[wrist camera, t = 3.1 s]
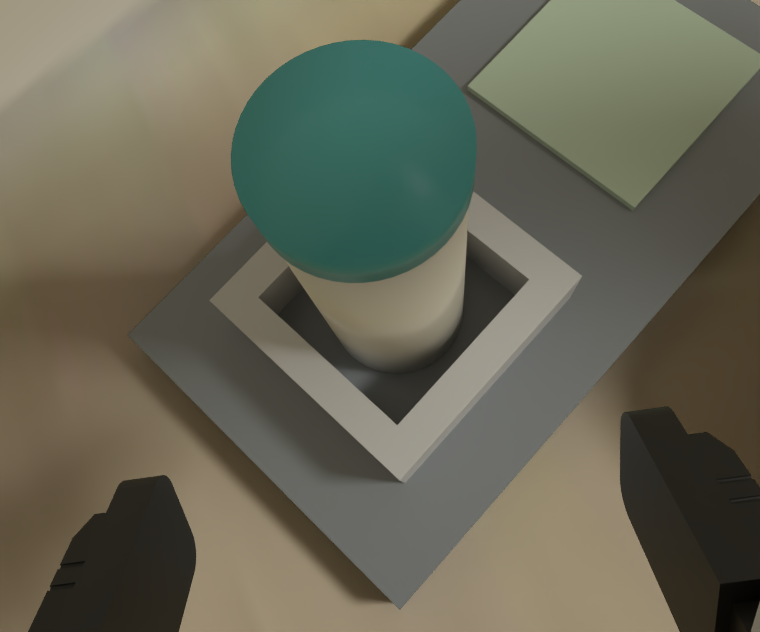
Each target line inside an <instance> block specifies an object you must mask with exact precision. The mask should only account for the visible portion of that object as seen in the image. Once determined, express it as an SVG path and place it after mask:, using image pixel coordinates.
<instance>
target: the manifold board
mask: <svg viewBox="0 0 760 632" xmlns="http://www.w3.org/2000/svg"><path fill="white" fill-rule="evenodd" d="M411 50H413V51H415V52H417V53H419V54H421V55H423V56H425V57H426V58H428V59H429V60H431V61H433V62H434V63H435V64H437V65H438V66H439V67H440V68H441V69H443V70H444V71H445V72H446V73H447V74H448V75H449V76H450V77H451V78H452V80H453V81H454V82H455V83H456V84H457V86H458V87H459V89H460V90H461V92H462V93H463V95H464V97H465V99H466V101H467V103H468V105H469V107H470V110H471V113H472V116H473V119H474V123H475V129H476V136H477V155H476V169H475V181H474V189H473V194H472V198H471V201H470V205H469V209H468V228H467V247H466V265H465V284H464V303H463V316H462V323H461V326H460V330H459V332H458V334H457V337H456V339H455V340H454V342H453V344H452V345H451V346H450V348H449V349H448V350H447V351H446V352H445V353H444V354H443V355H442V356H441V357H440V358H439V359H438V360H436V361H435V362H434V363H432V364H430V365H428V366H426V367H424V368H422V369H419V370H416V371H412V372H408V373H385V372H380V371H377V370H374V369H371V368H369V367H366V366H365V365H363V364H361V363H360V362H358V361H357V360H356V359H355V358H353V357H352V356H351V355H350V354H349V353H348V352H347V351H346V349H345V348H344V346H343V345H342V344H341V342H340V341H339V339H338V338H337V336H336V335H335V333H334V332H333V330H332V329H331V328H330V326H329V325H328V323H327V322H326V320H325V319H324V317H323V316H322V314H321V313H320V311H319V310H318V308H317V307H316V305H315V304H314V302H313V301H312V300H311V298H310V297H309V295H308V294H307V292H306V291H305V289H304V288H303V286H302V285H301V283H300V282H299V280H298V279H297V277H296V276H295V275H294V273H293V272H292V270H291V269H290V267H289V266H288V264H287V263H286V261H285V260H284V259H283V258H282V257H281V256H279V255H278V253H277V252H276V251H275V250H274V249H273V248H272V247H271V246H270V245H269V244H268V242H267V241H266V240H265V238H264V237H263V236H262V234H261V233H260V231H259V230H258V228H257V227H256V226H255V224H254V223H253V221H252V220H251V218H250V217H249V216H248V214H247V215H246V216H245V217H244V218H243V219H242V220H241V221H240V222H239V223H238V224H237V225H236V226H235V227H234V228H233V229H232V230H231V231H230V232H229V233H228V234H227V235H226V236H225V237H224V238H223V239H222V240H221V241H220V242H219V243H218V244H217V245H216V246H215V247H214V248H213V249H212V250H211V251H210V252H209V253H208V254H207V255H206V256H205V257H204V258H203V259H202V260H201V261H200V262H199V263H198V264H197V265H196V266H195V267H194V268H193V269H192V270H191V272H190V273H189V274H188V275H187V276H186V277H185V278H184V279H183V280H182V281H181V282H180V283H179V284H178V285H177V286H176V287H175V288H174V289H173V290H172V291H171V292H170V293H169V294H168V295H167V296H166V297H165V298H164V299H163V300H162V301H161V302H160V303H159V304H158V305H157V306H156V307H155V308H154V309H153V310H152V311H151V312H150V313H149V314H148V315H147V316H146V317H145V318H144V319H143V320H142V321H141V322H140V323H139V324H138V325H137V326H136V327H135V328H134V329H133V330H132V331H131V332H130V333H129V334H128V336H129V337H130V338H131V339H132V340H133V341H134V342H135V343H136V344H137V345H138V346H139V347H140V348H141V349H142V350H143V351H144V352H145V353H146V354H147V355H148V356H149V357H150V358H151V359H152V360H153V361H154V362H155V363H156V364H157V365H158V366H159V367H160V368H161V369H162V370H163V371H164V372H165V373H166V374H167V375H168V376H169V377H170V378H171V379H172V380H173V381H174V382H175V383H176V385H177V386H178V387H179V388H180V389H181V390H182V391H183V392H184V393H185V394H186V395H187V396H188V397H189V398H190V399H191V400H192V401H193V402H194V403H195V404H196V405H197V406H198V407H199V408H200V409H201V410H202V411H203V412H204V413H205V414H206V415H207V416H208V417H209V418H210V419H211V420H212V421H213V422H214V423H215V424H216V425H217V426H218V427H219V428H220V429H221V430H222V431H223V432H224V433H225V434H226V435H227V436H228V437H229V438H230V439H231V440H232V441H233V442H234V443H235V444H236V445H237V446H238V447H239V448H240V449H241V450H242V451H243V452H244V453H245V454H246V455H247V456H248V457H249V458H250V459H251V460H252V461H253V462H254V463H255V464H256V465H257V466H258V467H259V468H260V469H261V470H262V471H263V472H264V473H265V474H266V475H267V476H268V477H269V478H270V479H271V480H272V481H273V482H274V483H275V484H276V485H277V486H278V487H279V488H280V489H281V490H282V492H283V493H284V494H285V495H286V496H287V497H288V498H289V499H290V500H291V501H292V502H293V503H294V504H295V505H296V506H297V507H298V508H299V509H300V510H301V511H302V512H303V513H304V514H305V515H306V516H307V517H308V518H309V519H310V520H311V521H312V522H313V523H314V524H315V525H316V526H317V527H318V528H319V529H320V530H321V531H322V532H323V533H324V534H325V535H326V536H327V537H328V538H329V539H330V540H331V541H332V542H333V543H334V544H335V545H336V546H337V547H338V548H339V549H340V550H341V551H342V552H343V553H344V554H345V555H346V556H347V557H348V558H349V559H350V560H351V561H352V562H353V563H354V564H355V565H356V566H357V567H358V568H359V569H360V570H361V571H362V572H363V573H364V574H365V575H366V576H367V577H368V578H369V579H370V580H371V581H372V582H373V583H374V584H375V585H376V586H377V587H378V588H379V589H380V590H381V591H382V592H383V593H384V594H385V595H386V596H387V597H388V598H389V600H390V601H391V602H392V603H393V604H394V605H395V606H396V607H397V608H398V609H399V610H400V609H401V608H402V607H403V606H404V605H405V603H406V602H407V601H408V600H409V599H410V598H411V597H412V595H413V594H414V593H415V592H416V591H417V590H418V588H419V587H420V586H421V585H422V584H423V583H424V581H425V580H426V579H427V578H428V577H429V576H430V575H431V573H432V572H433V571H434V570H435V569H436V568H437V566H438V565H439V564H440V563H441V562H442V561H443V560H444V558H445V557H446V556H447V555H448V554H449V553H450V551H451V550H452V549H453V548H454V547H455V546H456V545H457V543H458V542H459V541H460V540H461V539H462V538H463V536H464V535H465V534H466V533H467V532H468V531H469V530H470V528H471V527H472V526H473V525H474V524H475V523H476V521H477V520H478V519H479V518H480V517H481V516H482V514H483V513H484V512H485V511H486V510H487V509H488V508H489V506H490V505H491V504H492V503H493V502H494V501H495V499H496V498H497V497H498V496H499V495H500V494H501V493H502V491H503V490H504V489H505V488H506V487H507V486H508V484H509V483H510V482H511V481H512V480H513V479H514V478H515V476H516V475H517V474H518V473H519V472H520V471H521V469H522V468H523V467H524V466H525V465H526V464H527V462H528V461H529V460H530V459H531V458H532V457H533V456H534V454H535V453H536V452H537V451H538V450H539V449H540V447H541V446H542V445H543V444H544V443H545V442H546V441H547V439H548V438H549V437H550V436H551V435H552V434H553V432H554V431H555V430H556V429H557V428H558V427H559V426H560V424H561V423H562V422H563V421H564V420H565V419H566V417H567V416H568V415H569V414H570V413H571V412H572V411H573V409H574V408H575V407H576V406H577V405H578V404H579V402H580V401H581V400H582V399H583V398H584V397H585V395H586V394H587V393H588V392H589V391H590V390H591V389H592V387H593V386H594V385H595V384H596V383H597V382H598V380H599V379H600V378H601V377H602V376H603V375H604V374H605V372H606V371H607V370H608V369H609V368H610V367H611V365H612V364H613V363H614V362H615V361H616V360H617V359H618V357H619V356H620V355H621V354H622V353H623V352H624V350H625V349H626V348H627V347H628V346H629V345H630V344H631V342H632V341H633V340H634V339H635V338H636V337H637V335H638V334H639V333H640V332H641V331H642V330H643V328H644V327H645V326H646V325H647V324H648V323H649V322H650V320H651V319H652V318H653V317H654V316H655V315H656V313H657V312H658V311H659V310H660V309H661V308H662V307H663V305H664V304H665V303H666V302H667V301H668V300H669V298H670V297H671V296H672V295H673V294H674V293H675V292H676V290H677V289H678V288H679V287H680V286H681V285H682V283H683V282H684V281H685V280H686V279H687V278H688V276H689V275H690V274H691V273H692V272H693V271H694V270H695V268H696V267H697V266H698V265H699V264H700V263H701V261H702V260H703V259H704V258H705V257H706V256H707V255H708V253H709V252H710V251H711V250H712V249H713V248H714V246H715V245H716V244H717V243H718V242H719V241H720V240H721V238H722V237H723V236H724V235H725V234H726V233H727V231H728V230H729V229H730V228H731V227H732V226H733V225H734V223H735V222H736V221H737V220H738V219H739V218H740V216H741V215H742V214H743V213H744V212H745V211H746V209H747V208H748V207H749V206H750V205H751V204H752V203H753V201H754V200H755V199H756V198H757V197H758V196H759V194H760V6H758V5H757V4H755V3H753V2H752V1H750V0H460V1H459V2H458V3H457V4H456V5H455V6H454V7H453V8H452V9H451V10H450V11H449V12H448V13H447V14H446V15H445V16H444V17H443V18H442V19H441V20H440V21H439V22H438V23H437V24H436V25H435V26H434V27H433V28H432V29H431V30H430V31H429V32H428V33H427V34H426V35H425V36H424V37H423V38H422V39H421V40H420V41H419V42H418V43H417V44H416V45H415V46H414V47H413V48H412V49H411Z"/></svg>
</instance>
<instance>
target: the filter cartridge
mask: <svg viewBox="0 0 760 632" xmlns="http://www.w3.org/2000/svg"><path fill="white" fill-rule="evenodd" d="M476 155H477V136H476V129H475V123H474V119H473V116H472V113H471V110H470V107H469V105H468V103H467V101H466V99H465V97H464V95H463V93H462V92H461V90H460V89H459V87H458V86H457V84H456V83H455V82H454V81H453V80H452V78H451V77H450V76H449V75H448V74H447V73H446V72H445V71H444V70H443V69H441V68H440V67H439V66H438V65H437V64H435V63H434V62H433V61H431V60H429V59H428V58H426V57H425V56H423V55H421V54H419V53H417V52H415V51H413V50H411V49H408V48H405V47H402V46H399V45H396V44H392V43H387V42H381V41H371V40H351V41H343V42H336V43H331V44H328V45H324V46H320V47H317V48H315V49H312V50H310V51H307V52H305V53H303V54H301V55H299V56H297V57H295V58H293V59H291V60H290V61H288V62H287V63H285V64H284V65H282V66H281V67H279V68H278V69H277V70H276V71H275V72H273V73H272V74H271V75H270V76H269V77H268V78H266V80H265V81H264V82H263V83H262V84H261V85H260V86H259V87H258V88H257V89H256V91H255V92H254V94H253V95H252V96H251V98H250V99H249V101H248V102H247V104H246V106H245V108H244V110H243V112H242V113H241V115H240V118H239V121H238V123H237V126H236V129H235V133H234V137H233V142H232V151H231V169H232V176H233V181H234V186H235V189H236V191H237V194H238V197H239V200H240V202H241V203H242V205H243V207H244V209H245V211H246V213H247V214H248V216H249V217H250V218H251V220H252V221H253V223H254V224H255V226H256V227H257V228H258V230H259V231H260V233H261V234H262V236H263V237H264V238H265V240H266V241H267V242H268V244H269V245H270V246H271V247H272V248H273V249H274V250H275V251H276V252H277V253H278V255H279V256H281V257H282V258H283V259H284V260H285V261H286V263H287V264H288V266H289V267H290V269H291V270H292V272H293V273H294V275H295V276H296V277H297V279H298V280H299V282H300V283H301V285H302V286H303V288H304V289H305V291H306V292H307V294H308V295H309V297H310V298H311V300H312V301H313V302H314V304H315V305H316V307H317V308H318V310H319V311H320V313H321V314H322V316H323V317H324V319H325V320H326V322H327V323H328V325H329V326H330V328H331V329H332V330H333V332H334V333H335V335H336V336H337V338H338V339H339V341H340V342H341V344H342V345H343V346H344V348H345V349H346V351H347V352H348V353H349V354H350V355H351V356H352V357H353V358H355V359H356V360H357V361H358V362H360V363H361V364H363V365H365V366H366V367H369V368H371V369H374V370H377V371H380V372H385V373H408V372H412V371H416V370H419V369H422V368H424V367H426V366H428V365H430V364H432V363H434V362H435V361H436V360H438V359H439V358H440V357H441V356H442V355H443V354H444V353H445V352H446V351H447V350H448V349H449V348H450V346H451V345H452V344H453V342H454V340H455V339H456V337H457V334H458V332H459V330H460V326H461V323H462V316H463V303H464V284H465V265H466V247H467V228H468V209H469V205H470V201H471V198H472V194H473V189H474V181H475V169H476Z"/></svg>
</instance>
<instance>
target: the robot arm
mask: <svg viewBox="0 0 760 632" xmlns="http://www.w3.org/2000/svg"><path fill="white" fill-rule="evenodd" d="M620 484H621V492H622V497H623V501H624V505H625V508H626V511H627V514H628V517H629V519H630V521H631V524H632V526H633V528H634V530H635V532H636V535H637V537H638V539H639V541H640V544H641V546H642V548H643V550H644V553H645V555H646V557H647V559H648V562H649V564H650V566H651V568H652V571H653V573H654V575H655V577H656V579H657V582H658V584H659V586H660V588H661V591H662V593H663V595H664V597H665V600H666V602H667V604H668V606H669V609H670V611H671V613H672V615H673V617H674V620H675V622H676V624H677V626H678V629H679V631H680V632H760V487H759V486H758V484H757V483H756V481H755V480H754V479H753V480H752V479H751V474H750V473H749V471H748V470H747V469H746V467H745V466H744V464H743V463H742V462H741V460H740V459H739V457H738V456H737V454H736V453H735V452H734V451H733V450H732V449H731V448H729V447H728V446H726V445H725V444H723V443H722V442H720V441H719V440H718V439H716V438H715V437H713V436H712V435H710V434H709V433H707V432H704V433H697V434H690V435H688V434H687V433H686V431H685V429H684V428H683V426H682V425H681V423H680V422H679V420H678V418H677V417H676V415H675V414H674V412H673V411H672V410H671V409H670V408H669V407H660V408H653V409H645V410H638V411H631V412H624V413H623V414H622V416H621V434H620ZM60 565H61V568H60V569H58V570H57V572H56V574H55V576H54V578H53V581H52V583H51V585H50V587H51V589H50V591H47V593H46V595H45V597H44V599H43V601H42V604H41V606H40V608H39V610H38V612H37V614H36V616H35V618H34V620H33V622H32V625H31V627H30V629H29V631H28V632H179V629H180V625H181V621H182V617H183V613H184V610H185V606H186V602H187V598H188V594H189V591H190V587H191V583H192V579H193V575H194V571H195V565H196V548H195V541H194V537H193V534H192V531H191V529H190V526H189V524H188V521H187V519H186V517H185V514H184V512H183V509H182V507H181V504H180V502H179V499H178V497H177V495H176V492H175V490H174V487H173V485H172V483H171V481H170V479H169V478H168V477H167V476H165V475H161V476H154V477H147V478H140V479H133V480H125V481H122V482H121V483H120V484H119V486H118V487H117V489H116V492H115V494H114V496H113V499H112V501H111V503H110V505H109V508H108V510H107V512H106V513H100V514H94V516H93V517H92V518H91V519H90V520H89V521H88V522H87V523H86V524H85V525H84V526H83V528H82V529H81V530H80V531H79V532H78V533H77V534H76V535H75V536H74V537H73V539H72V541H71V543H70V545H69V547H68V549H67V551H66V553H65V555H64V557H63V560H62V562H61V564H60Z"/></svg>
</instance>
